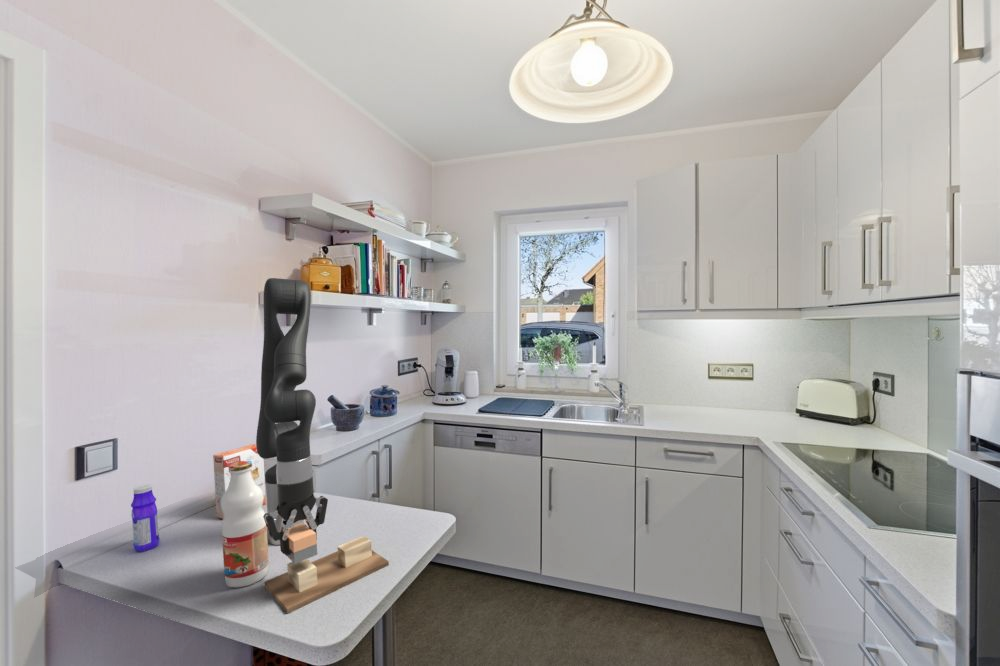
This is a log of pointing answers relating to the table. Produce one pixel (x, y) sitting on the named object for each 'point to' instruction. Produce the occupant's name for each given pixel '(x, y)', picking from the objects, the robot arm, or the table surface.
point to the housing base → (302, 554)
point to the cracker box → (224, 476)
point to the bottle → (144, 519)
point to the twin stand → (324, 574)
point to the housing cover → (301, 537)
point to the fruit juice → (243, 528)
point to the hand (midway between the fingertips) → (299, 549)
